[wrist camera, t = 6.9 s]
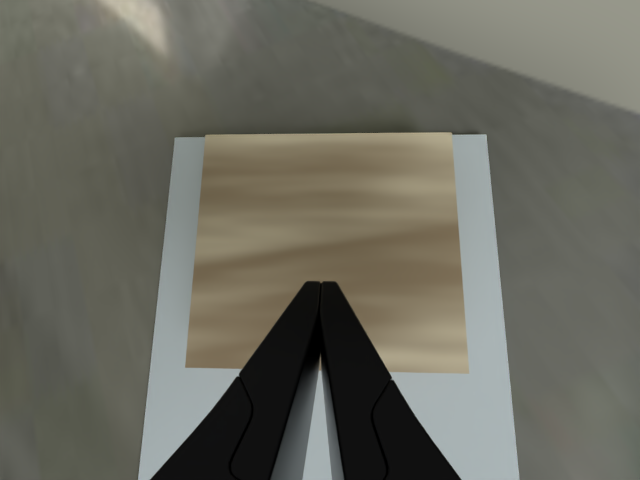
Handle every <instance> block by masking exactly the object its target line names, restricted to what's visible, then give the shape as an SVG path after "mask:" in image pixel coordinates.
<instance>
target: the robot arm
mask: <svg viewBox="0 0 640 480" xmlns="http://www.w3.org/2000/svg"><path fill="white" fill-rule="evenodd" d="M320 355H321V373H322V383H323V393H324V404H325V414H326V424H327V434H328V444H329V455H330V465H331V475H332V480H462V479H461V478H460V477H459V475H458V474H457V473H456V471H455V470H454V469H453V467H452V466H451V465H450V463H449V462H448V460H447V459H446V458H445V456H444V455H443V454H442V452H441V451H440V450H439V448H438V447H437V446H436V444H435V443H434V442H433V440H432V439H431V437H430V436H429V434H428V433H427V432H426V430H425V429H424V427H423V426H422V424H421V423H420V422H419V420H418V419H417V417H416V416H415V414H414V413H413V411H412V409H411V408H410V406H409V405H408V403H407V401H406V400H405V398H404V397H403V395H402V393H401V392H400V390H399V388H398V386H397V385H396V383H395V381H394V380H392V376H391V375H390V373H389V371H388V369H387V368H386V366H385V364H384V362H383V361H382V359H381V357H380V356H379V354H378V352H377V350H376V349H375V347H374V345H373V343H372V342H371V340H370V338H369V337H368V335H367V333H366V331H365V330H364V328H363V326H362V324H361V323H360V321H359V319H358V318H357V316H356V314H355V312H354V311H353V309H352V307H351V305H350V304H349V302H348V300H347V298H346V297H345V295H344V293H343V292H342V290H341V288H340V286H339V285H338V283H337V282H336V281H323V282H322V283H321V282H320V281H306V282H305V283H304V284H303V286H302V287H301V288H300V290H299V291H298V293H297V294H296V295H295V297H294V298H293V299H292V301H291V302H290V304H289V305H288V306H287V308H286V309H285V310H284V312H283V313H282V315H281V316H280V317H279V319H278V320H277V321H276V323H275V324H274V326H273V327H272V328H271V330H270V331H269V333H268V334H267V335H266V337H265V338H264V339H263V341H262V342H261V344H260V345H259V346H258V348H257V349H256V350H255V352H254V353H253V355H252V356H251V357H250V359H249V360H248V361H247V363H246V364H245V366H244V367H243V368H242V370H241V371H240V373H239V376H237V377H236V378H235V379H234V381H233V382H232V383H231V385H230V386H229V388H228V389H227V390H226V392H225V393H224V394H223V395H222V397H221V398H220V399H219V401H218V402H217V403H216V405H215V406H214V407H213V408H212V410H211V411H210V412H209V413H208V414H207V416H206V417H205V418H204V419H203V420H202V421H201V423H200V424H199V425H198V426H197V427H196V428H195V430H194V431H193V432H192V433H191V434H190V435H189V436H188V438H187V439H186V440H185V441H184V442H183V443H182V444H181V445H180V447H179V448H178V449H177V450H176V451H175V452H174V453H173V454H172V455H171V457H170V458H169V459H168V460H167V461H166V462H165V463H164V464H163V466H162V467H161V468H160V469H159V470H158V471H157V472H156V473H155V474H154V476H153V477H152V478H151V479H150V480H302V479H303V472H304V466H305V459H306V452H307V446H308V439H309V433H310V426H311V419H312V413H313V406H314V400H315V393H316V387H317V380H318V373H319V366H320Z"/></svg>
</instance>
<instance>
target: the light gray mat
mask: <svg viewBox="0 0 640 480" xmlns="http://www.w3.org/2000/svg"><path fill="white" fill-rule="evenodd" d="M452 144H453V157H454V171H455V185H456V198H457V212H458V226H459V239H460V253H461V267H462V280H463V294H464V308H465V321H466V335H467V349H468V362H469V374H459V373H412V372H389V373H390V375H391V376H392V380H394V381H395V383H396V385H397V386H398V388H399V390H400V392H401V393H402V395H403V397H404V398H405V400H406V401H407V403H408V405H409V406H410V408H411V409H412V411H413V413H414V414H415V416H416V417H417V419H418V420H419V422H420V423H421V424H422V426H423V427H424V429H425V430H426V432H427V433H428V434H429V436H430V437H431V439H432V440H433V442H434V443H435V444H436V446H437V447H438V448H439V450H440V451H441V452H442V454H443V455H444V456H445V458H446V459H447V460H448V462H449V463H450V465H451V466H452V467H453V469H454V470H455V471H456V473H457V474H458V475H459V477H460V478H461V479H462V480H519V471H518V460H517V450H516V439H515V429H514V418H513V408H512V397H511V387H510V377H509V366H508V356H507V345H506V335H505V324H504V314H503V303H502V293H501V282H500V272H499V262H498V251H497V241H496V230H495V220H494V209H493V199H492V188H491V178H490V168H489V157H488V147H487V136H486V134H482V135H452ZM204 146H205V137H175V143H174V152H173V161H172V170H171V180H170V189H169V198H168V207H167V217H166V226H165V235H164V245H163V254H162V263H161V272H160V282H159V291H158V300H157V309H156V319H155V328H154V337H153V346H152V356H151V365H150V374H149V384H148V393H147V402H146V411H145V421H144V430H143V439H142V448H141V458H140V467H139V476H138V480H150V479H151V478H152V477H153V476H154V474H155V473H156V472H157V471H158V470H159V469H160V468H161V467H162V466H163V464H164V463H165V462H166V461H167V460H168V459H169V458H170V457H171V455H172V454H173V453H174V452H175V451H176V450H177V449H178V448H179V447H180V445H181V444H182V443H183V442H184V441H185V440H186V439H187V438H188V436H189V435H190V434H191V433H192V432H193V431H194V430H195V428H196V427H197V426H198V425H199V424H200V423H201V421H202V420H203V419H204V418H205V417H206V416H207V414H208V413H209V412H210V411H211V410H212V408H213V407H214V406H215V405H216V403H217V402H218V401H219V399H220V398H221V397H222V395H223V394H224V393H225V392H226V390H227V389H228V388H229V386H230V385H231V383H232V382H233V381H234V379H235V378H236V377H237V376H239V373H240V371H241V370H242V369H223V368H185V362H186V350H187V339H188V328H189V316H190V305H191V294H192V282H193V271H194V260H195V248H196V237H197V226H198V214H199V203H200V192H201V180H202V169H203V157H204ZM302 480H332V475H331V465H330V455H329V444H328V434H327V424H326V414H325V404H324V393H323V383H322V373H321V371H319V373H318V380H317V387H316V393H315V400H314V406H313V413H312V419H311V426H310V433H309V439H308V446H307V452H306V459H305V466H304V472H303V479H302Z"/></svg>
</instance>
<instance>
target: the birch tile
mask: <svg viewBox="0 0 640 480" xmlns="http://www.w3.org/2000/svg"><path fill="white" fill-rule="evenodd" d="M306 281H320V282H321V283H322V282H323V281H336V282H337V283H338V285H339V286H340V288H341V290H342V292H343V293H344V295H345V297H346V298H347V300H348V302H349V304H350V305H351V307H352V309H353V311H354V312H355V314H356V316H357V318H358V319H359V321H360V323H361V324H362V326H363V328H364V330H365V331H366V333H367V335H368V337H369V338H370V340H371V342H372V343H373V345H374V347H375V349H376V350H377V352H378V354H379V356H380V357H381V359H382V361H383V362H384V364H385V366H386V368H387V369H388V371H389V372H412V373H459V374H469V362H468V349H467V335H466V321H465V308H464V294H463V280H462V267H461V253H460V239H459V226H458V212H457V198H456V185H455V171H454V157H453V144H452V132H433V133H330V134H226V135H205V146H204V157H203V169H202V180H201V192H200V203H199V214H198V226H197V237H196V248H195V260H194V271H193V282H192V294H191V305H190V316H189V328H188V339H187V350H186V362H185V368H223V369H242V368H243V367H244V366H245V364H246V363H247V361H248V360H249V359H250V357H251V356H252V355H253V353H254V352H255V350H256V349H257V348H258V346H259V345H260V344H261V342H262V341H263V339H264V338H265V337H266V335H267V334H268V333H269V331H270V330H271V328H272V327H273V326H274V324H275V323H276V321H277V320H278V319H279V317H280V316H281V315H282V313H283V312H284V310H285V309H286V308H287V306H288V305H289V304H290V302H291V301H292V299H293V298H294V297H295V295H296V294H297V293H298V291H299V290H300V288H301V287H302V286H303V284H304V283H305V282H306ZM319 371H321V355H320V366H319Z"/></svg>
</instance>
